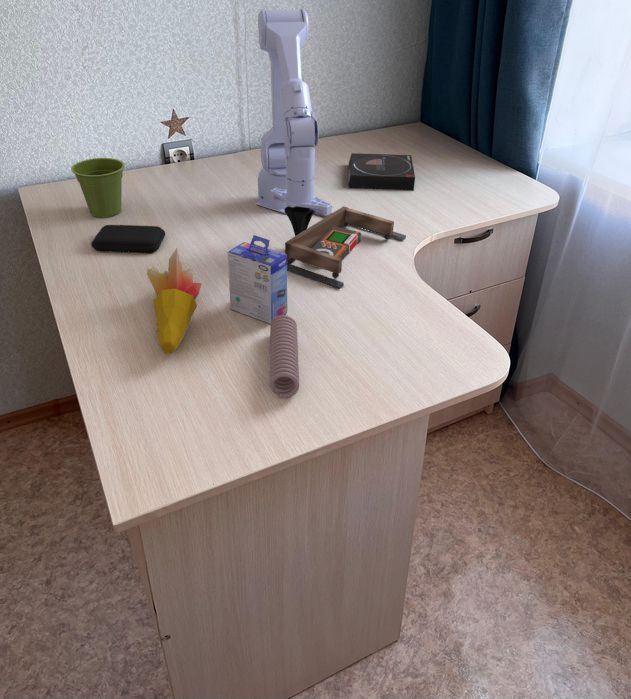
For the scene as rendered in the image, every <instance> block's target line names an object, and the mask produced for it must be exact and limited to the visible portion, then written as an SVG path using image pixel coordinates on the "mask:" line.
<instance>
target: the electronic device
mask: <svg viewBox="0 0 631 699" xmlns="http://www.w3.org/2000/svg"><path fill="white" fill-rule="evenodd" d="M360 242H361V232H360V231H358V230H357V231H356V230H353V229H348V228H345V227H344V228H340V227H336V226H333V227H332V228H331V229H330V230H329V231H328V232H327V233H326V234H325V235H324V236H323V237H322V238H321V239H320V240H319V241H318V242H317V243H316V245H315V246H314V247H313V248H312V249H315V250H318V251H321V252H324V253H327V254H330V255H333V256H336V257H339V258H342V261H343V260H345V259H346V258H347V256H348V255H350V254H351V253H352V252H353V251H354V250H355V248H356V247H357V246H358V244H359V243H360ZM353 249H354V250H353Z"/></svg>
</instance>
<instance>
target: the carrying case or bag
mask: <svg viewBox="0 0 631 699" xmlns="http://www.w3.org/2000/svg"><path fill="white" fill-rule="evenodd" d="M165 236H166V231H165V230H164V229H163V228H162V227H161V226H157V225H156V226H155V225H131V224H130V225H129V224H128V225H127V224H107V225H103V226H102V227H101V228H100V229H99V231H98V232H97V234H96V235H95V237H94V238H93V239H92V241H91V242H90V243H91V244H90V245H91V247H92V248H93V249H94V250H95V251H97V252H101V253H102V252H103V253H105V252H106V253H125V254H126V253H127V254H129V253H130V254H131V253H132V254H154V253H155V252H156V251H157V250H158V249H159V248H160V246H161V244H162V243H163V241H164V239H165Z"/></svg>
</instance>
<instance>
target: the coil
mask: <svg viewBox="0 0 631 699" xmlns="http://www.w3.org/2000/svg"><path fill="white" fill-rule="evenodd" d="M269 324H270V323H269ZM269 327H270V330H269V331H270V332H269V334H270V335H269V337H270V340H269V344H270V345H269V387H270V389H271V390H272V391H273V392H274V393H275V394H278V398H279V399H288V398H291V397H293V396H294V395H296V394H297V392H299V389H300V375H299V374H300V368H299V367H300V366H299V349H298V347H299V345H298V325H297V322H296V320H295V319H294V318H293V317H292V316H289V315H286V314H285V315H280V316H277V317H275V318H274V319H273V320H272V321H271V324H270V326H269Z"/></svg>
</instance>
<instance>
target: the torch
mask: <svg viewBox="0 0 631 699" xmlns="http://www.w3.org/2000/svg"><path fill="white" fill-rule="evenodd" d="M167 269H168V270H167V271H164V272H163V273H162V272H160V271H158V269H157V268H156V266H155V265H154V263H152V264H151V268H149V267H147V268H146V275H147V278H148V280H149V281H150V283H151V285H152V287H153V290H154V292H155V295H156V296H155V298H154V299H153V307H154V312H155V318H156V319H155V320H156V334H157V339H158V343H159V345H160V346H159V347H160V349H161V351H162V352H163V354H165V355H166V354H167V355H169V354H173V353H174V352H175V351H176V350H177V349H178V347H179V345H180V344H181V342H182V340H183V339H184V336H185V334H186V331H187V329H188V326H189V324H190V321H191V320H192V318H193V316H194V313H195V311H196V309H197V307H198V305H197V303H196V299H197V297H198V296H199V294H200V290H201V286H202V285H203V282H199V281H198V282H194V273H193V268H191V267H190V268H188V269H183V266H182V262H181V260H180V255H179V250H178V247H176V248H175V250H174V251H173V252H172V254H171V255H170V257H169V258H168V268H167Z"/></svg>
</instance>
